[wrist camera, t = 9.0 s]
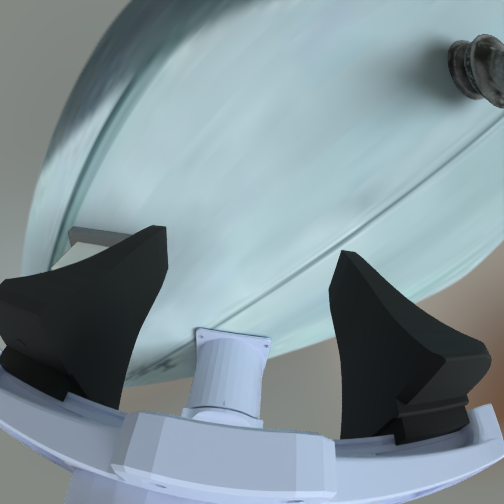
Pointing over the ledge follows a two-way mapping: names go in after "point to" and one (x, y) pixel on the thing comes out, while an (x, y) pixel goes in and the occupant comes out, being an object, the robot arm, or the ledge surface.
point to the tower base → (95, 236)
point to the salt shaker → (479, 68)
